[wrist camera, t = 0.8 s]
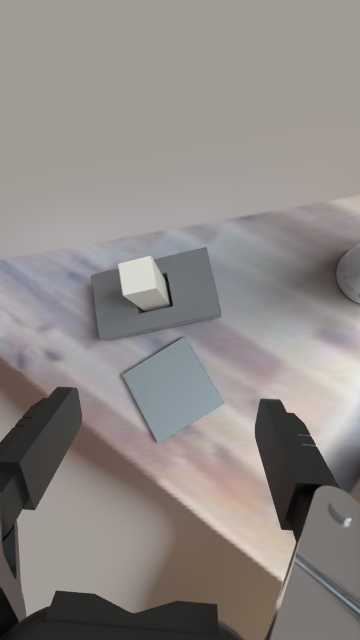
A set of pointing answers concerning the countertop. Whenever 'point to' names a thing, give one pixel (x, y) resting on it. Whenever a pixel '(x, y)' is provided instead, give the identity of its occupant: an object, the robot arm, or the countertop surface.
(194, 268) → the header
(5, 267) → the countertop surface
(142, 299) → the tall cream white pillar
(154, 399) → the mat
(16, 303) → the countertop surface
